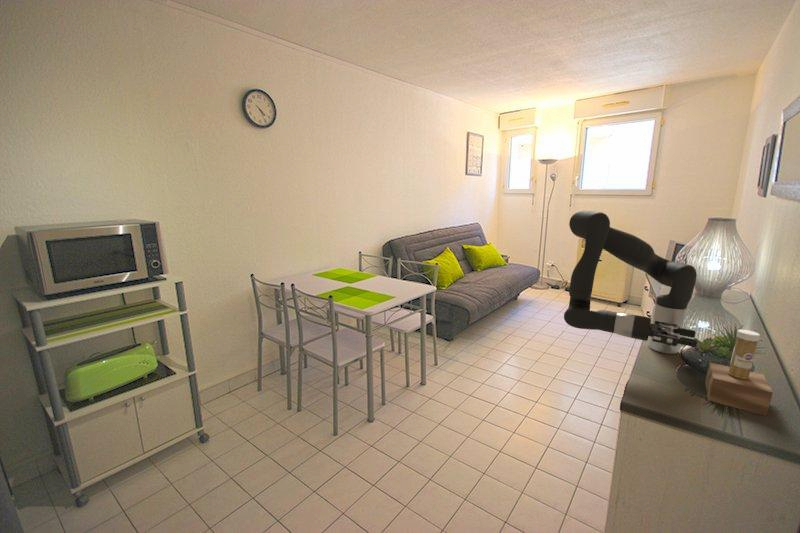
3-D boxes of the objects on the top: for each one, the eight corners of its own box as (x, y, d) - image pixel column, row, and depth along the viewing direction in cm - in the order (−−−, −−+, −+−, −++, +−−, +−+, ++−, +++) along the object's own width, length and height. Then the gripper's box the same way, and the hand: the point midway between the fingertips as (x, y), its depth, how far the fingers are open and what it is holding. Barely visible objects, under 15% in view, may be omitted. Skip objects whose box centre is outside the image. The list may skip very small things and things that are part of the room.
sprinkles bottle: (737, 380, 101) (749, 335, 98) (723, 371, 105) (733, 328, 102) (753, 380, 101) (765, 335, 98) (738, 372, 106) (748, 328, 103)
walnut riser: (705, 382, 113) (709, 362, 111) (757, 396, 106) (763, 374, 104) (708, 400, 103) (713, 378, 102) (766, 416, 96) (772, 392, 95)
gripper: (631, 321, 110) (700, 334, 101) (635, 309, 122) (696, 320, 112) (628, 344, 112) (694, 359, 103) (631, 330, 123) (692, 342, 114)
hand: (695, 338), depth 108 cm, fingers open, 8 cm apart
